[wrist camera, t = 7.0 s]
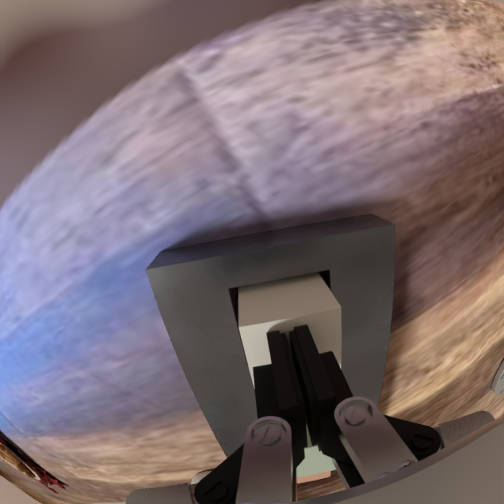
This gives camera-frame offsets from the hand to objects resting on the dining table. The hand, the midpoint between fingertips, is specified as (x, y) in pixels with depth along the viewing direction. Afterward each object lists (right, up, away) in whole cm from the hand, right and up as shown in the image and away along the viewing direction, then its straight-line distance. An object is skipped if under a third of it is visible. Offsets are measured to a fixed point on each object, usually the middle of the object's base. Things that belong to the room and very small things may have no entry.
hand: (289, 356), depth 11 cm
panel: (+1, -5, +7) cm, 9 cm away
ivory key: (0, +1, +4) cm, 4 cm away
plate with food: (-55, -37, +16) cm, 68 cm away
